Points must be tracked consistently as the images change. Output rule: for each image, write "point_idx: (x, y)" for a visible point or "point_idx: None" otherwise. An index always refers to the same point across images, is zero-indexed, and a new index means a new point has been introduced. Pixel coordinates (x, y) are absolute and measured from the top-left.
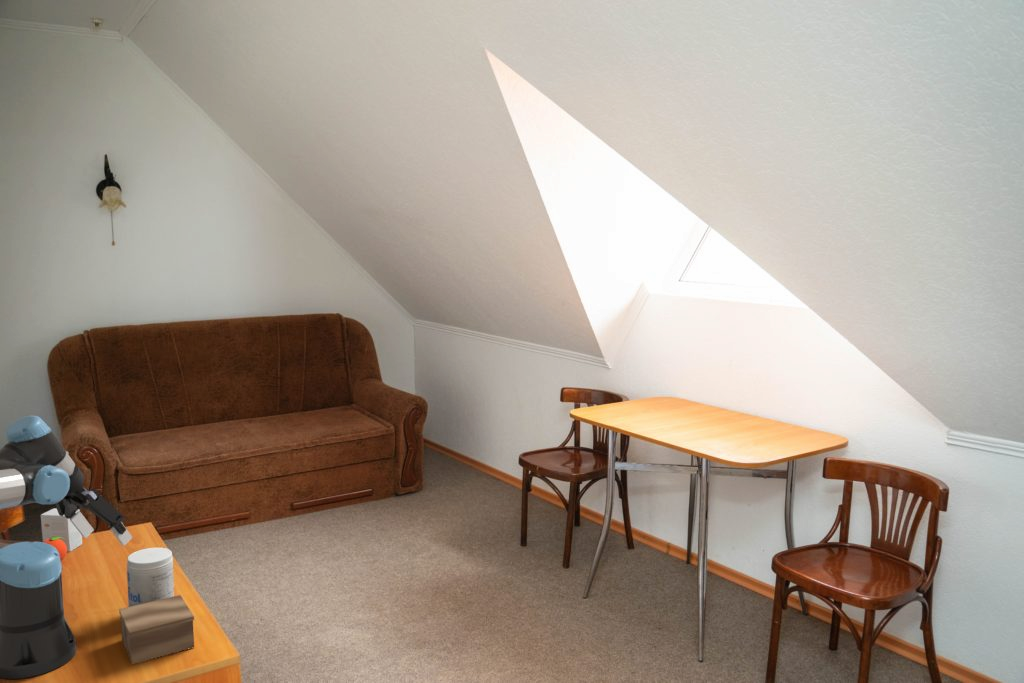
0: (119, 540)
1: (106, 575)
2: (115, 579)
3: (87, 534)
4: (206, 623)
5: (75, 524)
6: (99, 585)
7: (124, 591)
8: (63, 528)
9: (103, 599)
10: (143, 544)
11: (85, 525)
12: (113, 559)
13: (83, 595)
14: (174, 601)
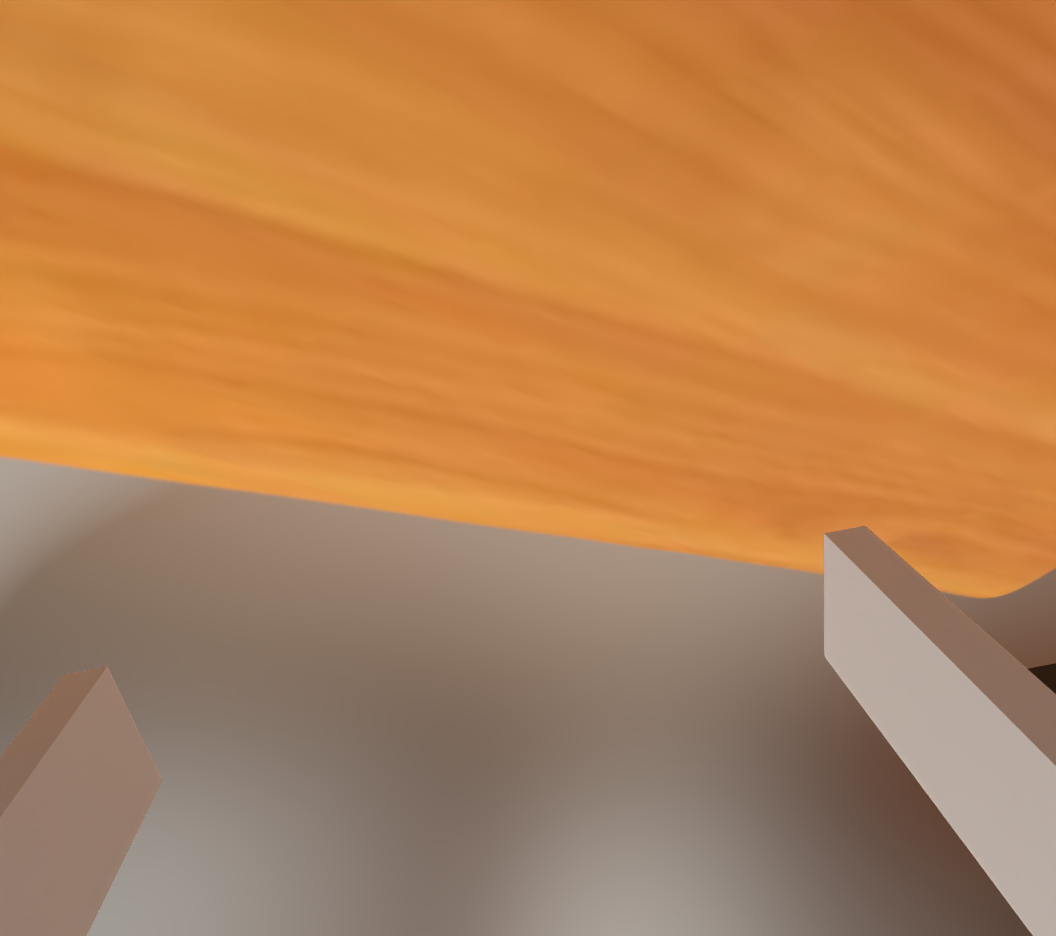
0: (24, 748)
1: (756, 329)
2: (647, 333)
3: (835, 586)
4: None
5: (1017, 732)
6: (667, 235)
7: (412, 285)
8: None
9: (396, 128)
10: None
11: (905, 712)
12: (888, 431)
13: (621, 68)
14: None
